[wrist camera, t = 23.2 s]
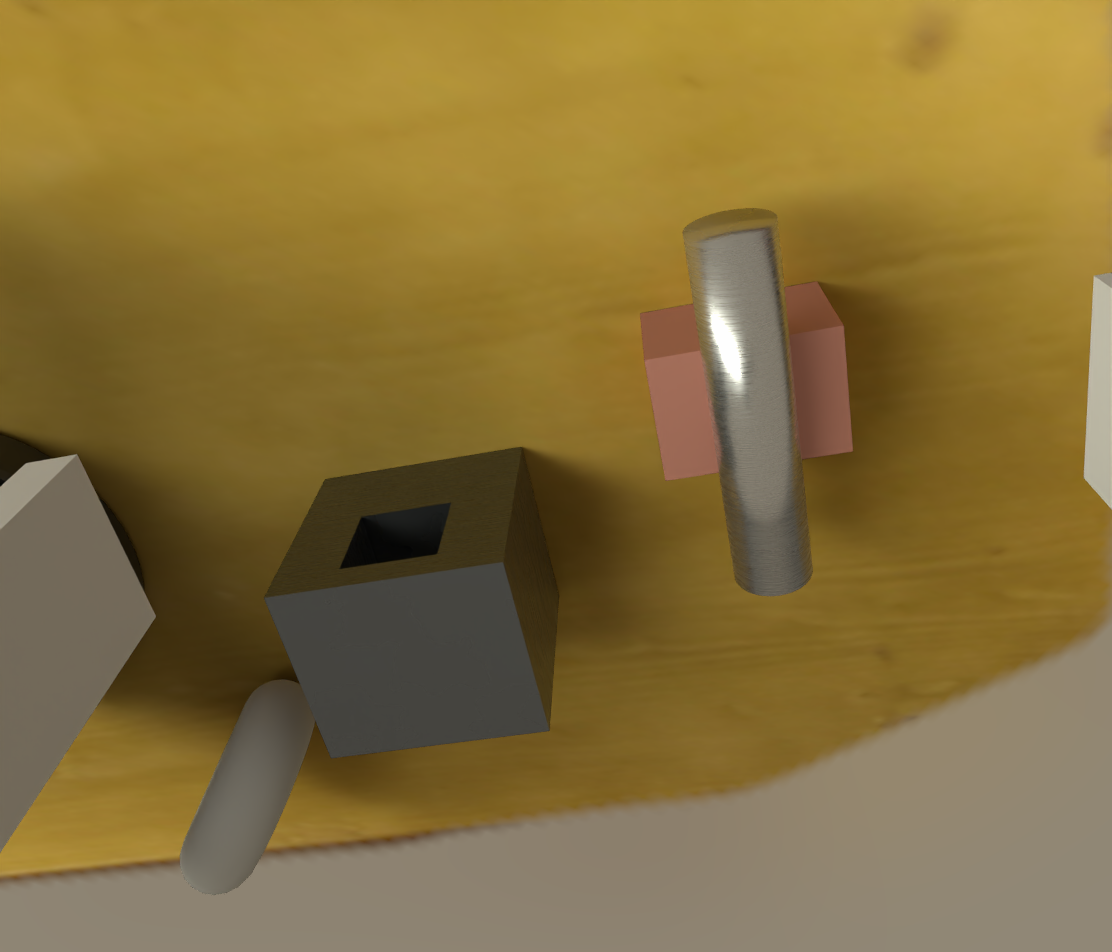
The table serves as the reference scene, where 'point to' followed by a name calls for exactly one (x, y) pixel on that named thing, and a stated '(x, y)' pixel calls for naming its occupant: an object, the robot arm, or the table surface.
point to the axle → (751, 395)
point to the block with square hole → (421, 606)
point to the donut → (248, 788)
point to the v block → (685, 393)
